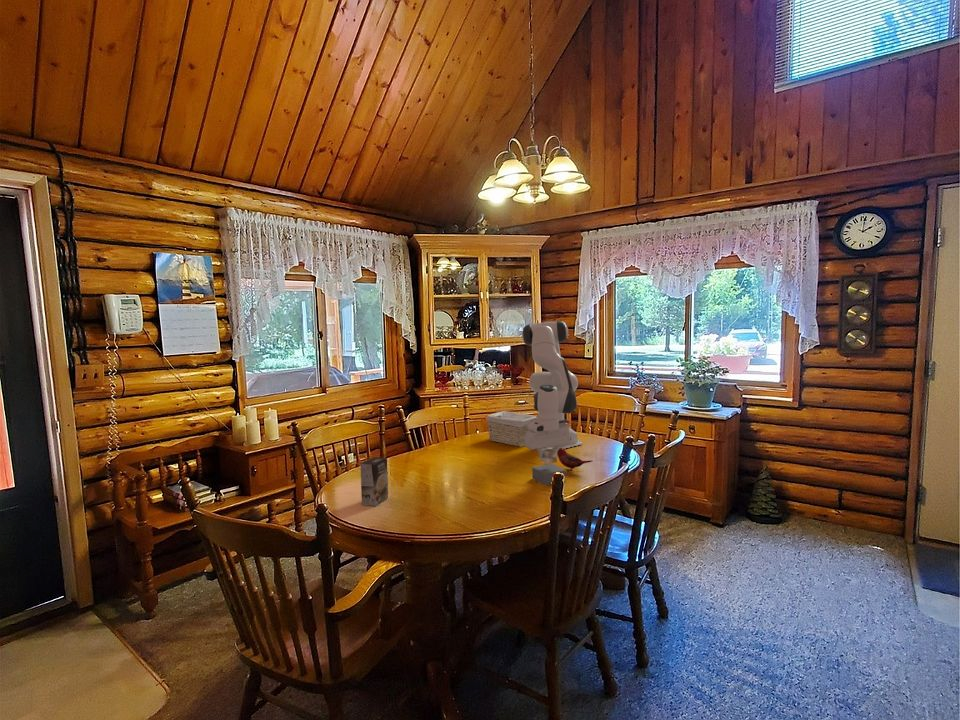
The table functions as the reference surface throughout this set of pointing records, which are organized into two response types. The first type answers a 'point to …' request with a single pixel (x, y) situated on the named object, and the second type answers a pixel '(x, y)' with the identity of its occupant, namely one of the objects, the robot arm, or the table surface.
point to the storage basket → (509, 427)
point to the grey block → (545, 473)
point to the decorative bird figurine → (569, 460)
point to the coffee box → (374, 481)
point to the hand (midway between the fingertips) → (548, 456)
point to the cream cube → (549, 455)
